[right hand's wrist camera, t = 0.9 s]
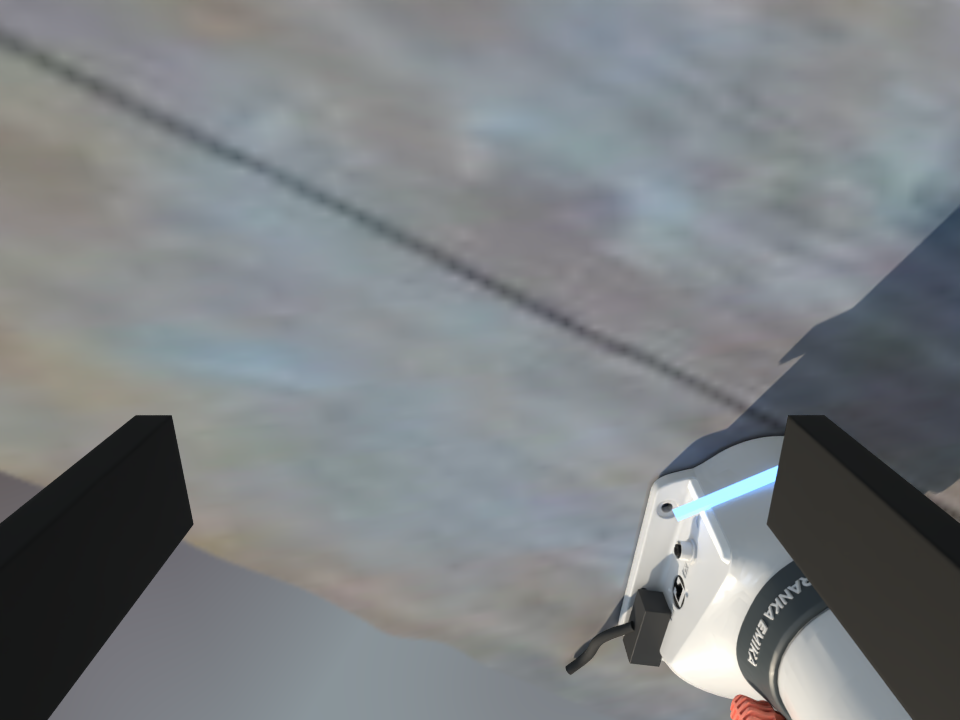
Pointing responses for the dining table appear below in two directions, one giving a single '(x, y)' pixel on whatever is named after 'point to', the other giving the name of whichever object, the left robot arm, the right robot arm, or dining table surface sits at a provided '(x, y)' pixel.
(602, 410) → the dining table surface
